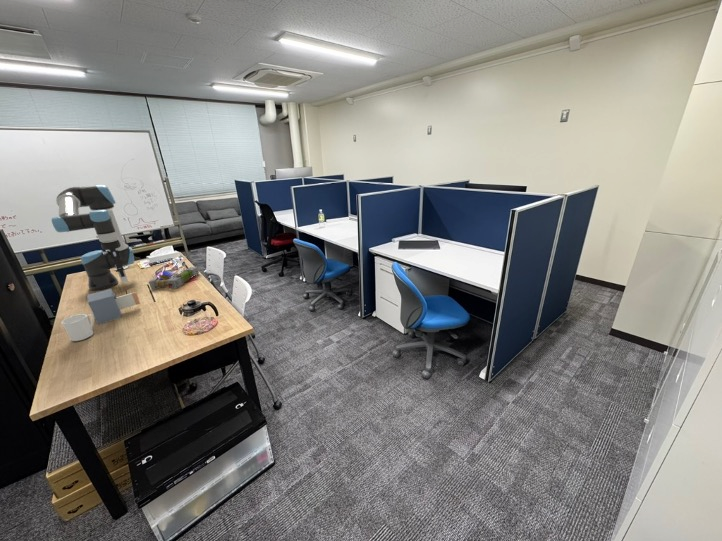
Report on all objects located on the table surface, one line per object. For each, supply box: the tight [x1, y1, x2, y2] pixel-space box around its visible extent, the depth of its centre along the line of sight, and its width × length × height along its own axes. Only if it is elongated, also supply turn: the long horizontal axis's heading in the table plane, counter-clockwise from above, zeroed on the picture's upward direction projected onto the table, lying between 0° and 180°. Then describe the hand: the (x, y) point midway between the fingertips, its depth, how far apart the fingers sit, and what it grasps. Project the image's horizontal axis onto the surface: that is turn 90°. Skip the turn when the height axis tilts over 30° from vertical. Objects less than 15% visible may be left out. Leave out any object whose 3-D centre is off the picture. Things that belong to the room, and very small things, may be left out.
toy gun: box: [148, 266, 201, 291], centre depth 196 cm, size 7×27×20 cm
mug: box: [60, 313, 94, 343], centre depth 138 cm, size 11×9×10 cm
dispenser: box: [87, 288, 122, 325], centre depth 154 cm, size 12×11×13 cm
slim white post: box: [115, 291, 141, 311], centre depth 158 cm, size 1×18×7 cm, turn 133°
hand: (123, 278), depth 157 cm, fingers open, 13 cm apart
